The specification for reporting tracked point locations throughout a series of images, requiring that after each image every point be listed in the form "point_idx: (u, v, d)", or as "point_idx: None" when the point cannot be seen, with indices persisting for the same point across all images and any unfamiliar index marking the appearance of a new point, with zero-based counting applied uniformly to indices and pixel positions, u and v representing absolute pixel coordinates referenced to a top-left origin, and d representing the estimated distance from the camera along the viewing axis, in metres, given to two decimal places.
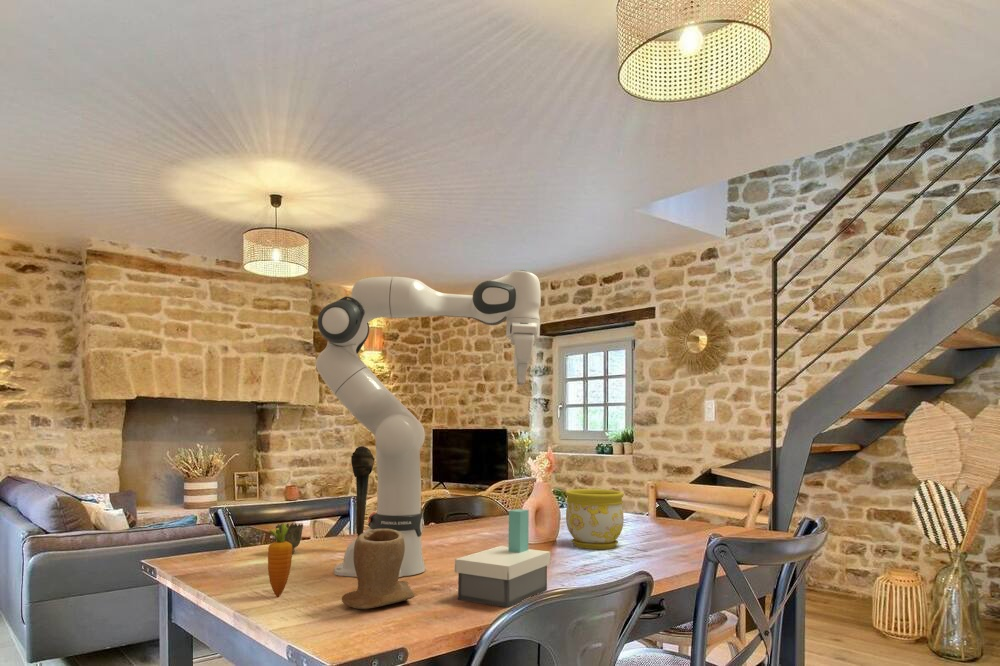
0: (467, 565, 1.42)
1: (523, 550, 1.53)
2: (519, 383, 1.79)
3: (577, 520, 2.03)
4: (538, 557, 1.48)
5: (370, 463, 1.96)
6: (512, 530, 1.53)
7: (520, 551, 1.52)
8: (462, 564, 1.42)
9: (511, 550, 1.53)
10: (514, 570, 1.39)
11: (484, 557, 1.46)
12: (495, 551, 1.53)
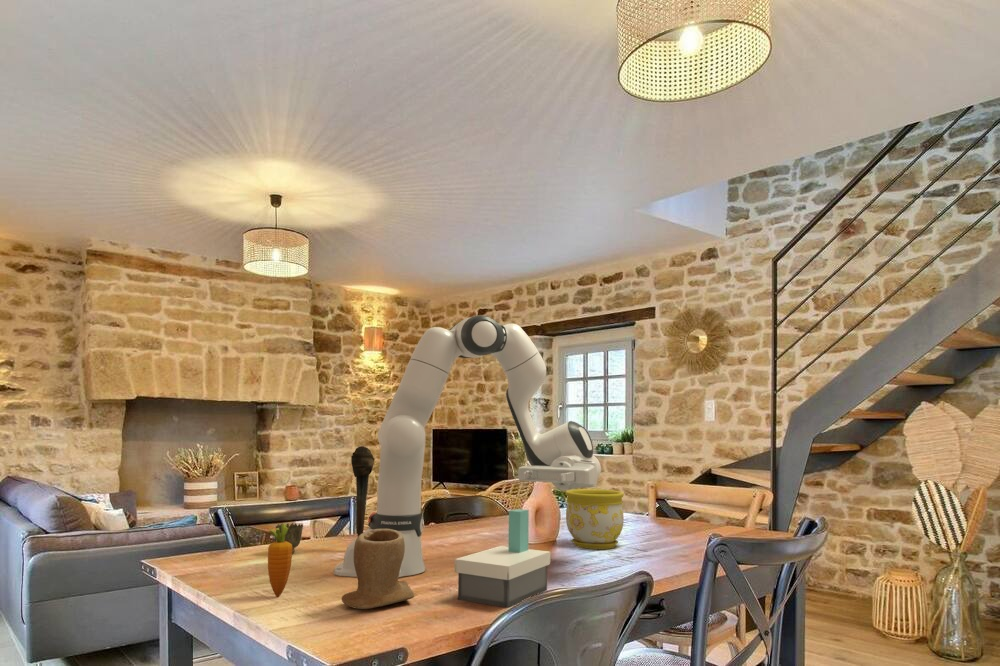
0: (467, 565, 1.42)
1: (523, 550, 1.53)
2: (529, 474, 1.69)
3: (577, 520, 2.03)
4: (538, 557, 1.48)
5: (370, 463, 1.96)
6: (512, 530, 1.53)
7: (520, 551, 1.52)
8: (462, 564, 1.42)
9: (511, 550, 1.53)
10: (514, 570, 1.39)
11: (484, 557, 1.46)
12: (495, 551, 1.53)
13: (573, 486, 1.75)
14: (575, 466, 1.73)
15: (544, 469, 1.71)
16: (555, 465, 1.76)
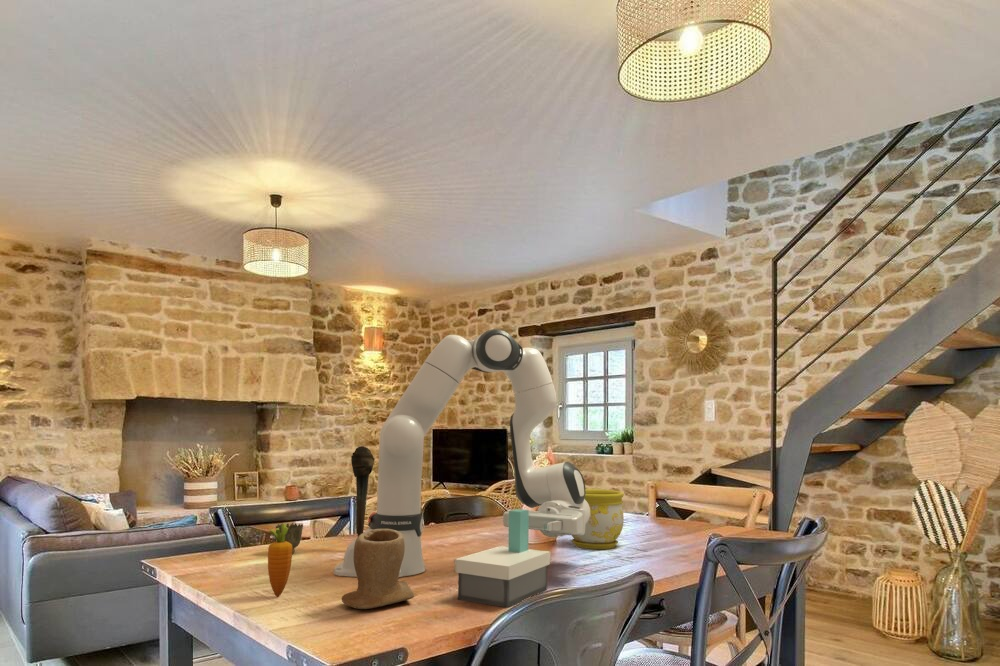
0: (467, 565, 1.42)
1: (523, 550, 1.53)
2: None
3: None
4: (538, 557, 1.48)
5: (370, 463, 1.96)
6: (512, 530, 1.53)
7: (520, 551, 1.52)
8: (462, 564, 1.42)
9: (511, 550, 1.53)
10: (514, 570, 1.39)
11: (484, 557, 1.46)
12: (495, 551, 1.53)
13: (560, 533, 1.67)
14: (562, 513, 1.66)
15: (530, 516, 1.64)
16: (542, 511, 1.69)
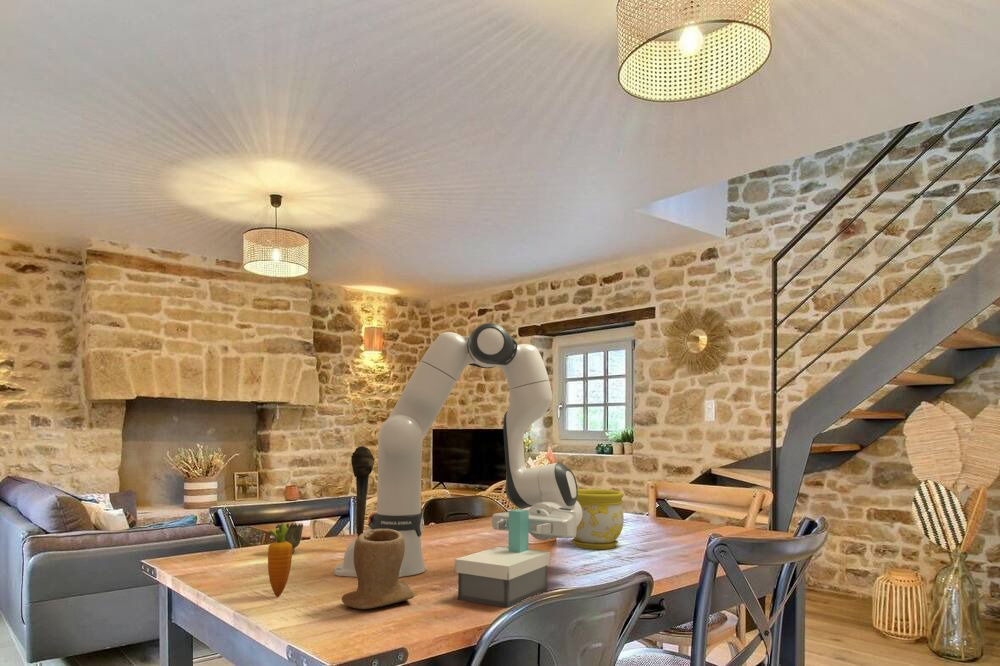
0: (467, 565, 1.42)
1: (523, 550, 1.53)
2: (502, 524, 1.57)
3: None
4: (538, 557, 1.48)
5: (370, 463, 1.96)
6: (512, 530, 1.53)
7: (520, 551, 1.52)
8: (462, 564, 1.42)
9: (511, 550, 1.53)
10: (514, 570, 1.39)
11: (484, 557, 1.46)
12: (495, 551, 1.53)
13: (551, 536, 1.63)
14: (553, 515, 1.61)
15: None
16: (532, 512, 1.64)
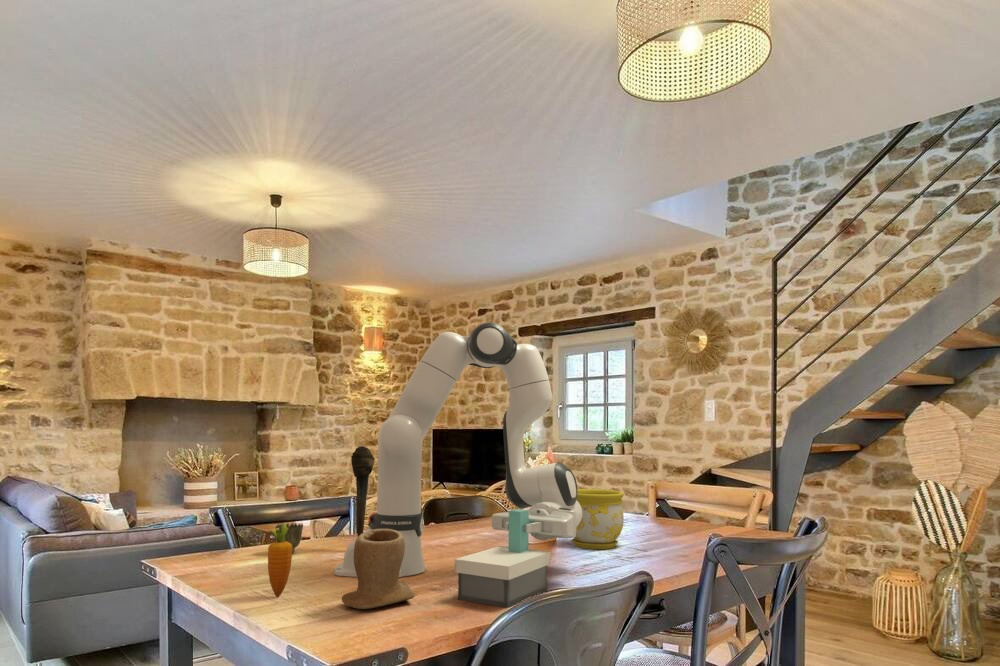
0: (467, 565, 1.42)
1: (523, 550, 1.53)
2: None
3: None
4: (538, 557, 1.48)
5: (370, 463, 1.96)
6: (512, 530, 1.53)
7: (520, 551, 1.52)
8: (462, 564, 1.42)
9: (511, 550, 1.53)
10: (514, 570, 1.39)
11: (484, 557, 1.46)
12: (495, 551, 1.53)
13: (550, 536, 1.62)
14: (553, 515, 1.61)
15: None
16: (532, 512, 1.64)
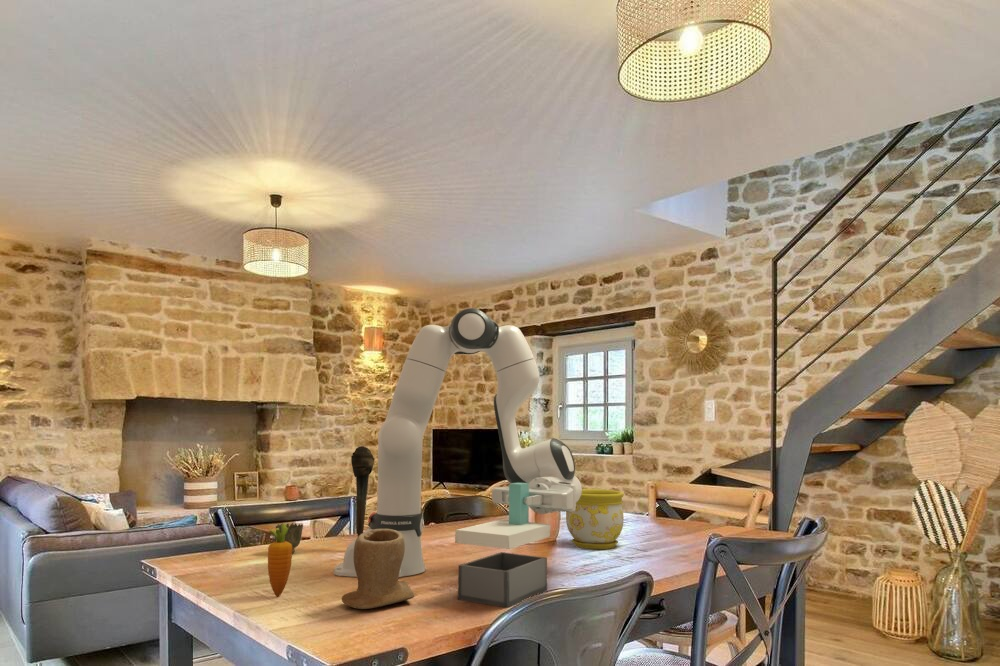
0: (468, 535, 1.43)
1: (523, 523, 1.54)
2: None
3: (577, 520, 2.03)
4: (538, 529, 1.49)
5: (370, 463, 1.96)
6: (512, 502, 1.54)
7: (520, 523, 1.52)
8: (463, 534, 1.43)
9: (511, 522, 1.53)
10: (514, 539, 1.40)
11: (484, 528, 1.46)
12: (495, 523, 1.53)
13: (550, 510, 1.63)
14: (553, 488, 1.62)
15: None
16: (532, 487, 1.65)
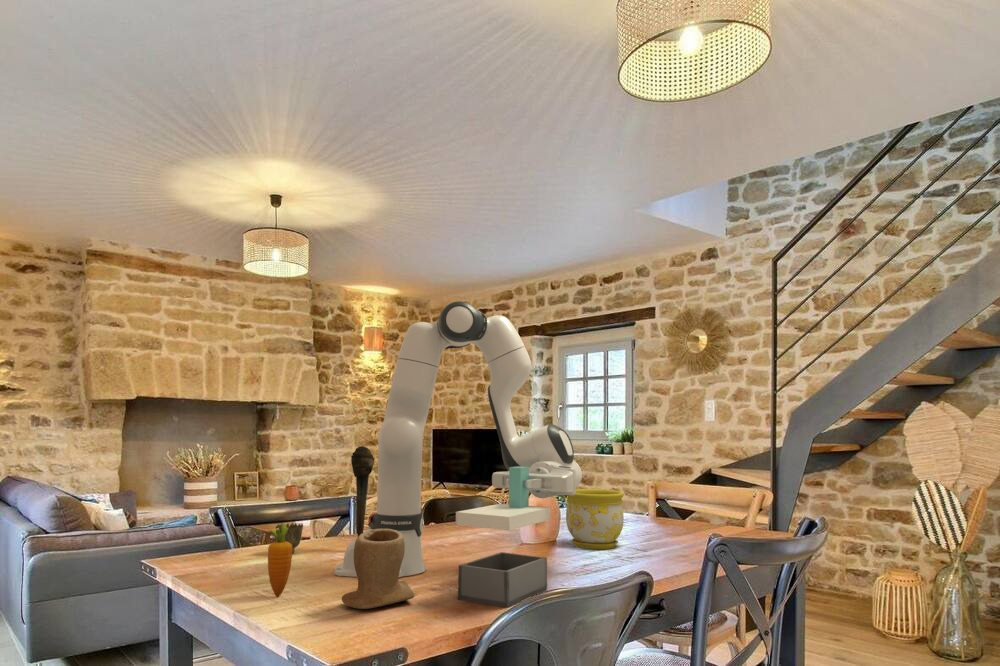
0: (468, 517, 1.43)
1: (523, 506, 1.54)
2: None
3: (577, 520, 2.03)
4: (538, 511, 1.49)
5: (370, 463, 1.96)
6: (512, 486, 1.54)
7: (520, 506, 1.53)
8: (463, 516, 1.44)
9: (511, 506, 1.54)
10: (514, 521, 1.40)
11: (485, 511, 1.47)
12: (496, 507, 1.54)
13: (551, 494, 1.64)
14: (553, 472, 1.62)
15: None
16: (532, 471, 1.65)
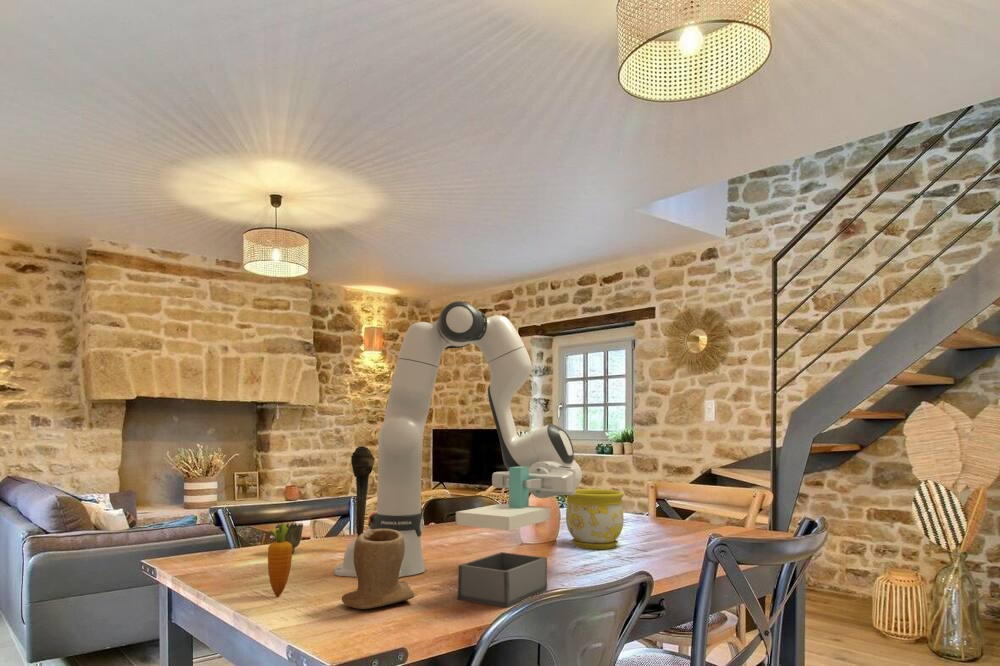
0: (468, 517, 1.43)
1: (523, 506, 1.54)
2: None
3: (577, 520, 2.03)
4: (538, 511, 1.49)
5: (370, 463, 1.96)
6: (512, 486, 1.54)
7: (520, 506, 1.53)
8: (463, 516, 1.44)
9: (511, 506, 1.54)
10: (514, 521, 1.40)
11: (485, 511, 1.47)
12: (496, 507, 1.54)
13: (551, 494, 1.64)
14: (553, 472, 1.62)
15: None
16: (532, 471, 1.65)
